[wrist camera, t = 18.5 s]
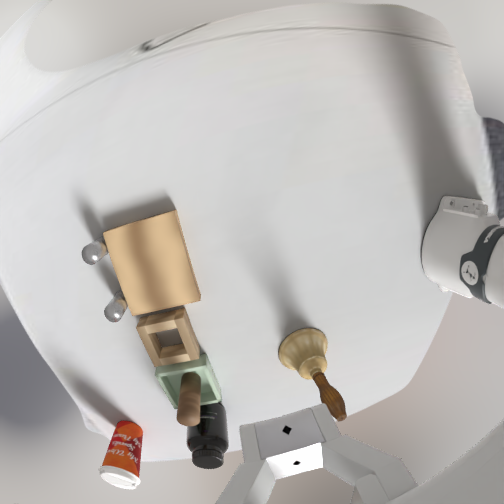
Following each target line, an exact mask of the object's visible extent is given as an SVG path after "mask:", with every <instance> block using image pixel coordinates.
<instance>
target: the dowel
mask: <svg viewBox="0 0 504 504" xmlns="http://www.w3.org/2000/svg"><path fill="white" fill-rule="evenodd" d="M200 397H201V378H200V376H199V375H198V374H196V373H194V372H187V373H184V374H183V375H182V378H181V385H180V393H179V402H178V410H177V421H178V422H179V423H180V424H182V425H185V426H195V425H197V424H199V422H200Z"/></svg>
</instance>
